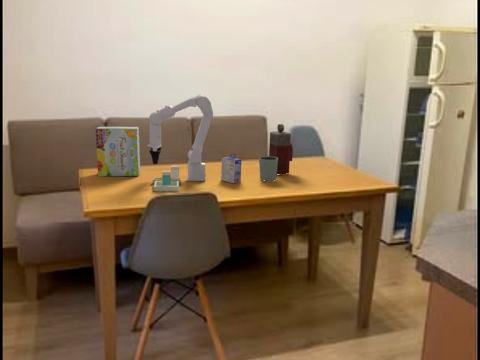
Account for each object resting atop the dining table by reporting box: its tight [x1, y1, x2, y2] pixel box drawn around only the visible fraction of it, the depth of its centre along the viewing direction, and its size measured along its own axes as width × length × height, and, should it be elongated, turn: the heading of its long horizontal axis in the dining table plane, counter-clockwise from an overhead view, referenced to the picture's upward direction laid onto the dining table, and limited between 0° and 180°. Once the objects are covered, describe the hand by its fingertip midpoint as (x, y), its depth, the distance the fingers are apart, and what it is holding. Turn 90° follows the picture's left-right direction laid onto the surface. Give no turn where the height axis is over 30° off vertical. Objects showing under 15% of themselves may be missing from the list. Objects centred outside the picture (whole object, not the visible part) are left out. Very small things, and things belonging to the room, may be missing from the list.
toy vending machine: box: [268, 123, 294, 174], centre depth 281 cm, size 9×11×28 cm
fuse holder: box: [152, 176, 182, 186], centre depth 253 cm, size 14×7×3 cm, turn 96°
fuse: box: [170, 165, 180, 179], centre depth 253 cm, size 4×3×8 cm
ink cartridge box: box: [220, 152, 242, 184], centre depth 261 cm, size 10×6×14 cm, turn 48°
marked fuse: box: [161, 170, 171, 186], centre depth 243 cm, size 4×3×8 cm
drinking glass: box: [258, 155, 278, 182], centre depth 266 cm, size 10×10×12 cm
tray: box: [153, 181, 180, 192], centre depth 244 cm, size 12×11×2 cm
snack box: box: [95, 126, 141, 177], centre depth 266 cm, size 22×9×26 cm, turn 95°
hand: (155, 162), depth 257 cm, fingers open, 7 cm apart
